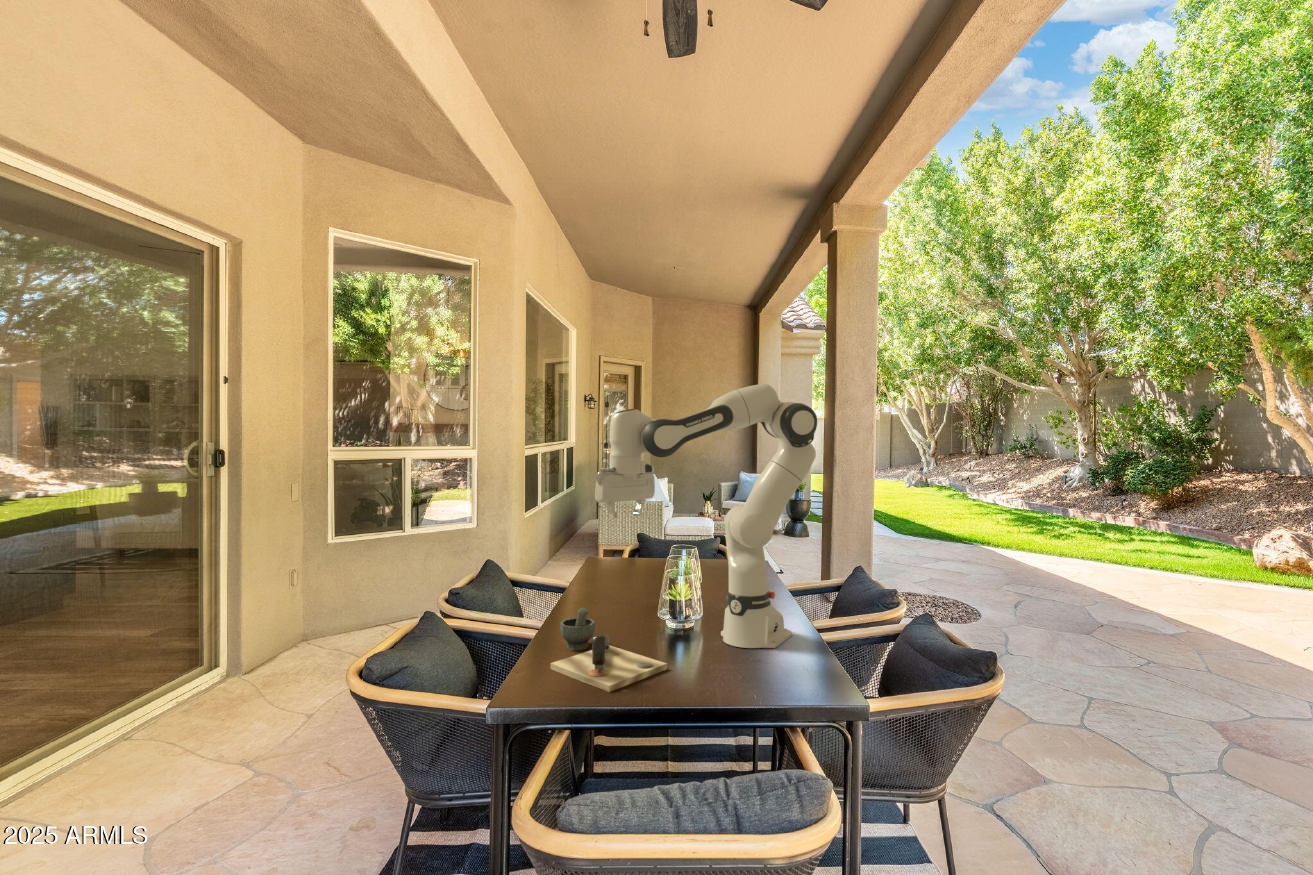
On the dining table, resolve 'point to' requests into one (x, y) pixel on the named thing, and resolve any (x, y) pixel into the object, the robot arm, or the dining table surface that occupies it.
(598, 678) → the lever board
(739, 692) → the dining table surface
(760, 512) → the robot arm
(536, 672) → the dining table surface
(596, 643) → the lever
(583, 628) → the mortar and pestle
